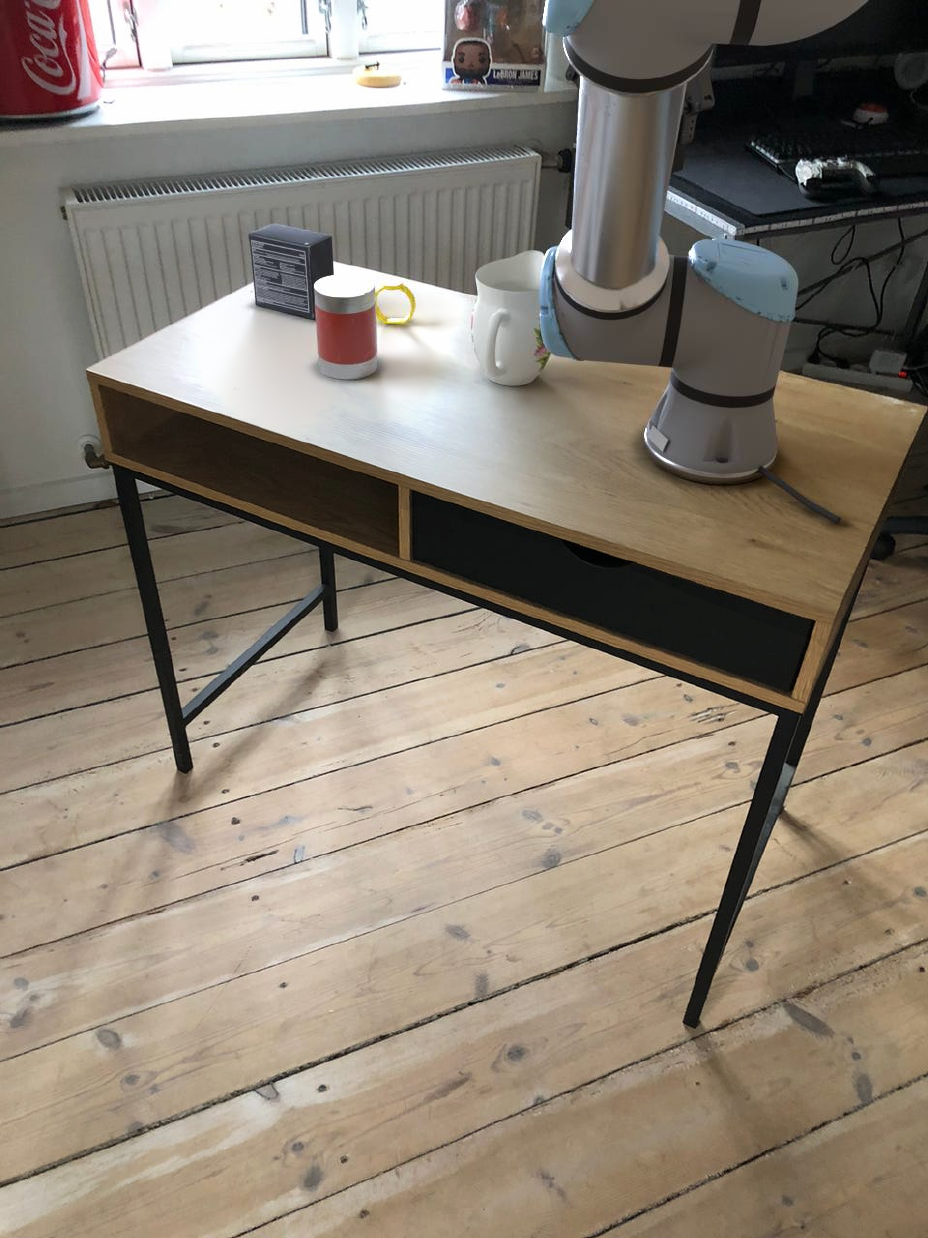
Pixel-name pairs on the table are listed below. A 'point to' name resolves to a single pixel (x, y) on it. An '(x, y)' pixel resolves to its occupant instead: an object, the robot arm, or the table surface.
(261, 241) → the small box
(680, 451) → the robot arm
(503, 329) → the pitcher
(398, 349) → the table surface
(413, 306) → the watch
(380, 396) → the table surface
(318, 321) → the tin can
